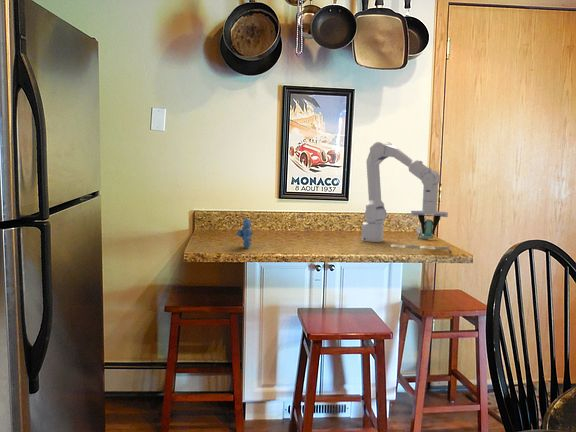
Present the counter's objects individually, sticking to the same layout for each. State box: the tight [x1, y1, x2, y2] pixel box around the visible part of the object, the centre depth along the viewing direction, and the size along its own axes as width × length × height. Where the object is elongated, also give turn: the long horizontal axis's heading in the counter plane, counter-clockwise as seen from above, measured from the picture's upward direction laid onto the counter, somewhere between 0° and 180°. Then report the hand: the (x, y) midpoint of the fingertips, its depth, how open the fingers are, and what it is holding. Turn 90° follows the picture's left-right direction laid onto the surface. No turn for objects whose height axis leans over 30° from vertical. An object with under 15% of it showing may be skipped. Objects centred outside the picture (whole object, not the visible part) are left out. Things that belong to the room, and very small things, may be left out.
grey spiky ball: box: [413, 224, 436, 241], centre depth 242 cm, size 9×8×10 cm
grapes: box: [236, 217, 254, 249], centre depth 218 cm, size 12×7×12 cm, turn 6°
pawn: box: [422, 219, 435, 240], centre depth 219 cm, size 5×5×8 cm
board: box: [390, 244, 452, 254], centre depth 221 cm, size 24×10×1 cm, turn 79°
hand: (428, 233), depth 220 cm, fingers closed on pawn, 3 cm apart
